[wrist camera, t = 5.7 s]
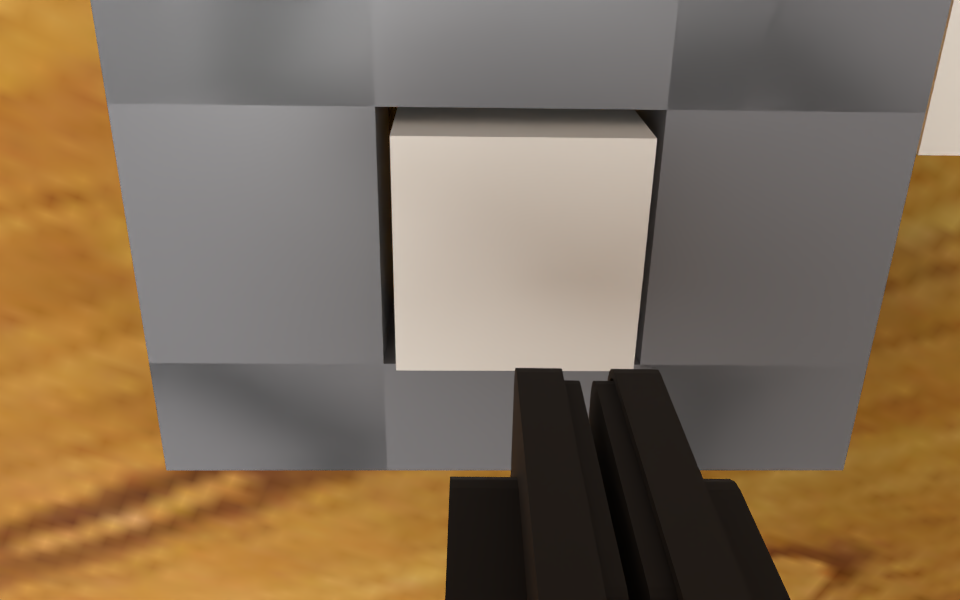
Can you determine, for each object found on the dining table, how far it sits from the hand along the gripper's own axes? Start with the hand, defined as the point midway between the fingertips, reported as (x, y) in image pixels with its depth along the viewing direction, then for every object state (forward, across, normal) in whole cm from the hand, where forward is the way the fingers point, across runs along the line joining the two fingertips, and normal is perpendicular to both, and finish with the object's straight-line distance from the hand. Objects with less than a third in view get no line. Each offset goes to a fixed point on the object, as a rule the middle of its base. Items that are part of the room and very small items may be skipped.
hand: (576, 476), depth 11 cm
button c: (+9, 0, -1) cm, 9 cm away
